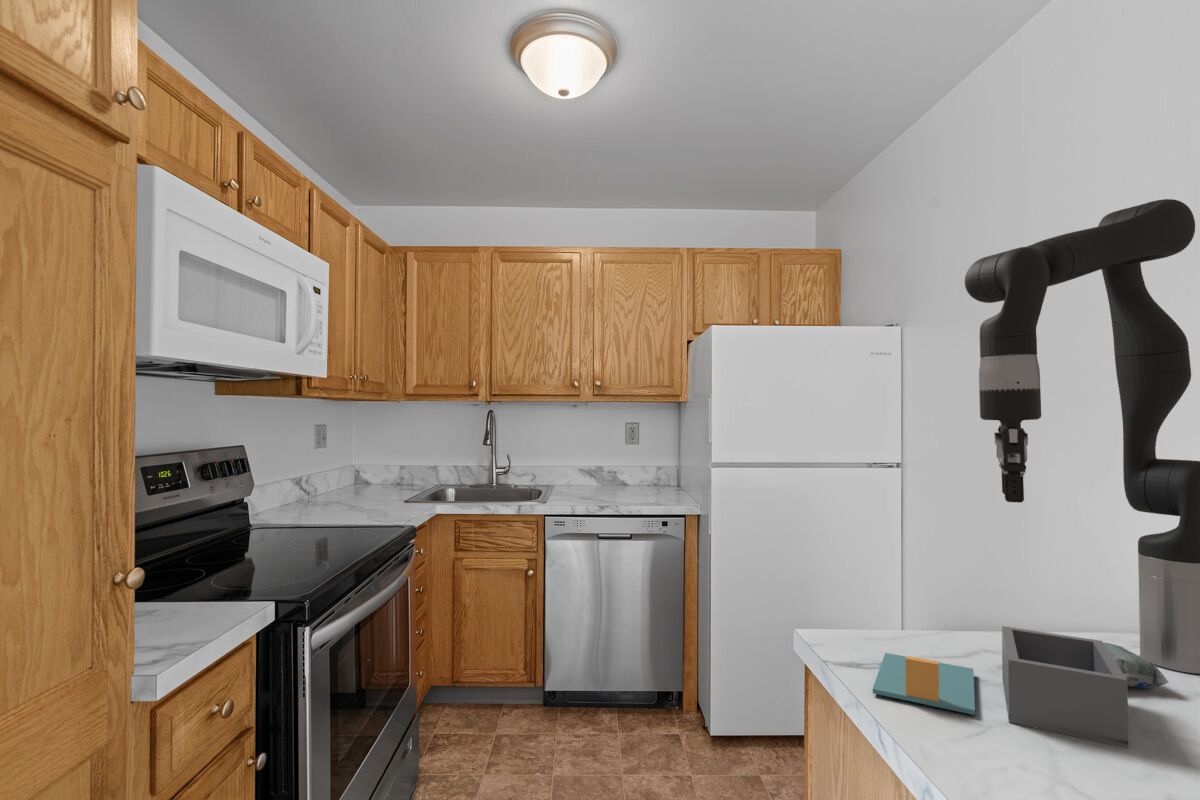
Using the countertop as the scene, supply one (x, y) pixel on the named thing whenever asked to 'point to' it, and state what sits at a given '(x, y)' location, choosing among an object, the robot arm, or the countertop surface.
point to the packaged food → (1136, 668)
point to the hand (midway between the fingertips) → (1012, 498)
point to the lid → (926, 682)
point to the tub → (1064, 685)
